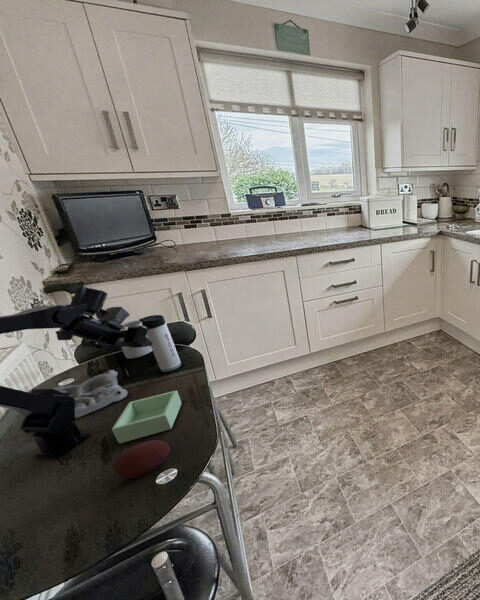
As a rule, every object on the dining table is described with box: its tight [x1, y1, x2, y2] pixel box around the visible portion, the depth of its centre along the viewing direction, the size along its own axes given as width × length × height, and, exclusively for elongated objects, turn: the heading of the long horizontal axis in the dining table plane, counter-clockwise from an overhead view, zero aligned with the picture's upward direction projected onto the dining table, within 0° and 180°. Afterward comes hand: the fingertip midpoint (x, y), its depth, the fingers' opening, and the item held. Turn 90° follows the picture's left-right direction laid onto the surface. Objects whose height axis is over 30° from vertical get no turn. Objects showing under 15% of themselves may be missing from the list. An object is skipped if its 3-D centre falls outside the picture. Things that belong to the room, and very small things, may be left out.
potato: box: [113, 439, 171, 480], centre depth 73 cm, size 7×10×6 cm
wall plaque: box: [53, 369, 128, 420], centre depth 103 cm, size 24×19×4 cm
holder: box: [111, 390, 183, 444], centre depth 88 cm, size 12×12×5 cm
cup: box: [120, 319, 153, 359], centre depth 128 cm, size 9×9×12 cm
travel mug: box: [138, 314, 182, 373], centre depth 113 cm, size 6×7×20 cm
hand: (139, 344), depth 105 cm, fingers open, 9 cm apart
